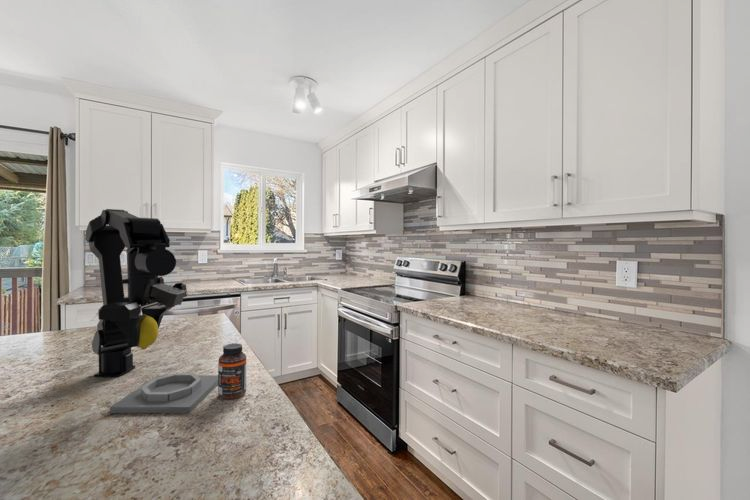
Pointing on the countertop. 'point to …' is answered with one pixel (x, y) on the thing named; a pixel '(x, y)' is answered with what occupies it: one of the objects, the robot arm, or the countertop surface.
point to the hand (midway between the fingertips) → (144, 342)
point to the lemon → (148, 332)
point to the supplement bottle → (232, 372)
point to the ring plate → (168, 394)
